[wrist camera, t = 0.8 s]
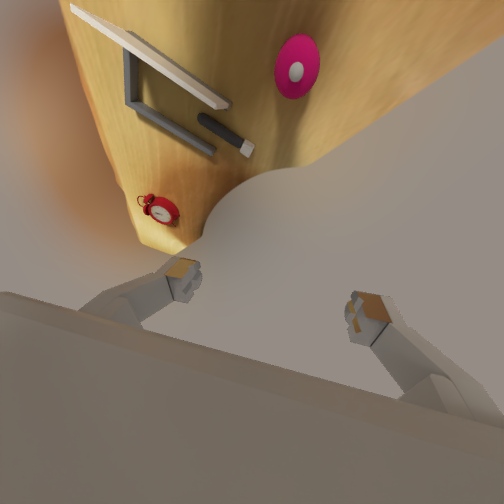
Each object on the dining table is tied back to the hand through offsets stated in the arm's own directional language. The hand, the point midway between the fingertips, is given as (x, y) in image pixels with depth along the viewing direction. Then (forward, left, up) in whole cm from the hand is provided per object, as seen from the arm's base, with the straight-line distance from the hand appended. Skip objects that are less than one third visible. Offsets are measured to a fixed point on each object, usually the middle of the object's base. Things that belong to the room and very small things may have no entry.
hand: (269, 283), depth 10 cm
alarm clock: (+48, -24, -46) cm, 71 cm away
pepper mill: (-6, -3, -46) cm, 47 cm away
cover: (+6, -23, -37) cm, 44 cm away
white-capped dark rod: (+12, -11, -46) cm, 49 cm away
